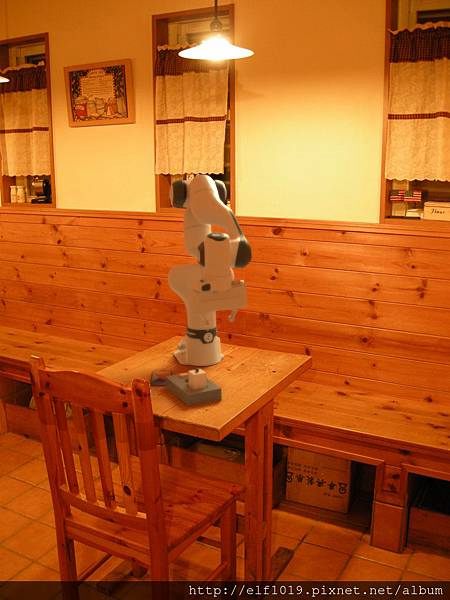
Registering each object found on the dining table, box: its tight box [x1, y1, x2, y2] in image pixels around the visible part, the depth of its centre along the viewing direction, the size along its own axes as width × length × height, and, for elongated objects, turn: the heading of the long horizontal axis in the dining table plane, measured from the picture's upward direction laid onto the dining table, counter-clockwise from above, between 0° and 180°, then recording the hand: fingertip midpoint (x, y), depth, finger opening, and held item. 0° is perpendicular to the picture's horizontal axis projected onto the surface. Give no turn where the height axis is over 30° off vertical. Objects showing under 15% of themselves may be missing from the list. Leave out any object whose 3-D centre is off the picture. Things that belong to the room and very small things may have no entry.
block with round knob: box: [188, 367, 207, 390], centre depth 208 cm, size 4×4×10 cm
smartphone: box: [150, 369, 173, 387], centre depth 227 cm, size 7×15×1 cm, turn 4°
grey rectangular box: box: [165, 372, 222, 407], centre depth 212 cm, size 20×12×5 cm, turn 27°
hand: (218, 322), depth 209 cm, fingers open, 8 cm apart
